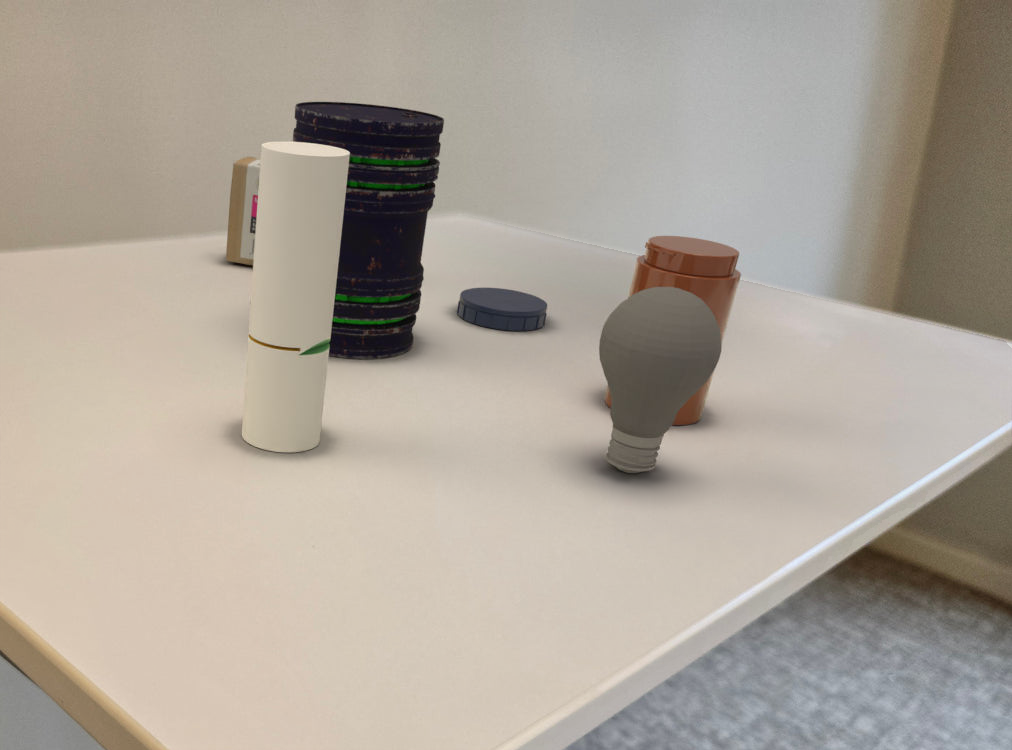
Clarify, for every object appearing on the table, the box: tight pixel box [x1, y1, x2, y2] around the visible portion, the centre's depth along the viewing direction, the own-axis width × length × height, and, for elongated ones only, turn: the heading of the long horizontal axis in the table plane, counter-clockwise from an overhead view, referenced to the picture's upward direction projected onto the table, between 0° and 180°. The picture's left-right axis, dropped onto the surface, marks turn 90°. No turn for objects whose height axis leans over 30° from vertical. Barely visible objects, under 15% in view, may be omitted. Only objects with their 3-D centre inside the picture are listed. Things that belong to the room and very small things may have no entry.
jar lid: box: [456, 287, 548, 332], centre depth 84 cm, size 7×7×2 cm
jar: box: [604, 235, 742, 426], centre depth 66 cm, size 6×6×10 cm
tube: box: [241, 141, 350, 453], centre depth 55 cm, size 4×4×15 cm
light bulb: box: [598, 287, 723, 474], centre depth 57 cm, size 6×6×10 cm
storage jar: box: [292, 101, 445, 360], centre depth 73 cm, size 10×10×15 cm
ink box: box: [225, 156, 261, 266], centre depth 91 cm, size 10×4×8 cm, turn 73°
